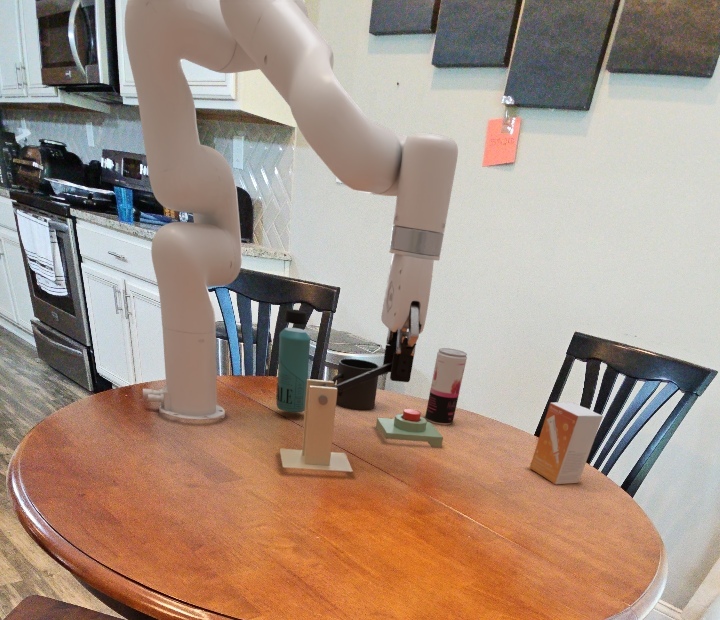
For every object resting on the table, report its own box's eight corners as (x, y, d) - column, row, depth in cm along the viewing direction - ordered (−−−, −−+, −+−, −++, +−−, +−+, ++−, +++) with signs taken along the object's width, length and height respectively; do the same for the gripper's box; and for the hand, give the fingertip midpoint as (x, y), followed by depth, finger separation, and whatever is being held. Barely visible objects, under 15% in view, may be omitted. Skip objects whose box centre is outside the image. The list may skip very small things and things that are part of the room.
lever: (403, 364, 98) (400, 349, 96) (411, 371, 94) (407, 356, 93) (314, 401, 99) (308, 387, 98) (317, 410, 95) (312, 395, 94)
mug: (317, 400, 138) (321, 359, 132) (358, 397, 144) (363, 358, 139) (341, 412, 132) (345, 369, 127) (382, 409, 139) (388, 368, 133)
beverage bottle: (308, 413, 128) (315, 310, 116) (302, 422, 123) (310, 315, 111) (278, 408, 128) (283, 305, 116) (272, 417, 123) (276, 309, 111)
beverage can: (455, 426, 135) (471, 356, 126) (428, 424, 134) (442, 353, 125) (448, 418, 140) (462, 349, 131) (422, 415, 139) (435, 346, 130)
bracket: (344, 459, 108) (353, 380, 100) (352, 478, 101) (362, 394, 93) (279, 454, 106) (283, 373, 97) (282, 474, 99) (287, 387, 90)
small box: (528, 468, 118) (549, 401, 110) (552, 467, 120) (574, 401, 112) (554, 485, 112) (578, 415, 104) (579, 483, 115) (604, 415, 107)
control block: (385, 443, 119) (388, 423, 116) (375, 427, 126) (378, 408, 124) (441, 447, 121) (445, 428, 119) (428, 432, 129) (432, 413, 127)
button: (404, 422, 120) (405, 413, 119) (400, 416, 123) (401, 408, 122) (421, 423, 121) (422, 415, 120) (416, 418, 123) (418, 409, 122)
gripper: (379, 237, 92) (364, 362, 102) (405, 245, 78) (384, 388, 89) (425, 244, 93) (405, 366, 104) (457, 253, 80) (431, 392, 91)
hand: (395, 375), depth 96 cm, fingers closed on lever, 5 cm apart
